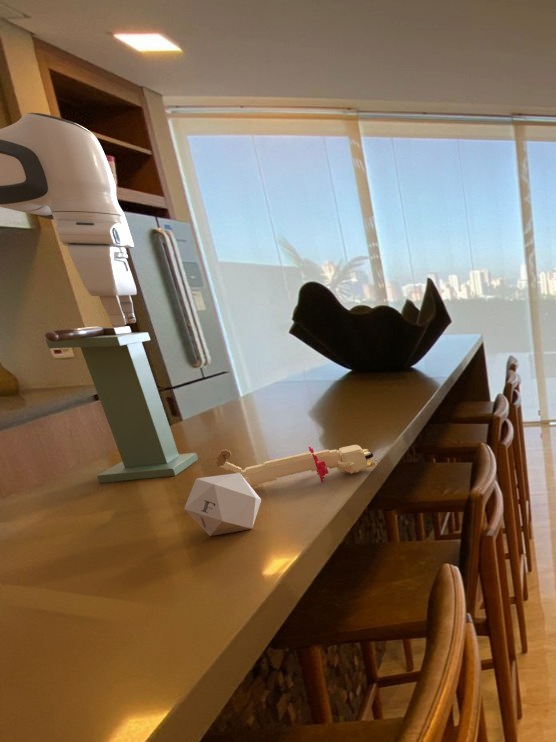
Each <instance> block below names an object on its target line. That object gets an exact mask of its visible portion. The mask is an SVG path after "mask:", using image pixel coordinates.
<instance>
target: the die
mask: <svg viewBox="0 0 556 742" xmlns="http://www.w3.org/2000/svg"><path fill="white" fill-rule="evenodd" d="M261 503H262V498H261V497H260V496H259V495H258V494H257V492H256V491H255V490H254V488H253V487H251V486H250V485H249V484H248V483H247V481H246V480H245V479H244V478H243V476H242V475H241V474H240V473H236V472H233V473H226V474H221V475H220V474H219V475H213V476H205V477H198V478H195V481H194V483H193V486H192V488H191V491H190V493H189V496H188V498H187V500H186V503H185V505H184V508H183V509H184V511H185V512H186V513H187V515H189V517H191V518H192V519H193V520H194V522H196V523H197V525H199V527H200V528H201V529H203V531H204V532H205V533H206V534H207V535H208V536H209V537H213V536H218V535H225V534H230V533H235V532H241V531H247V530H252V529H253V528H254V525H255V522H256V518H257V516H258V512H259V509H260V507H261V506H260V505H261Z"/></svg>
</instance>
